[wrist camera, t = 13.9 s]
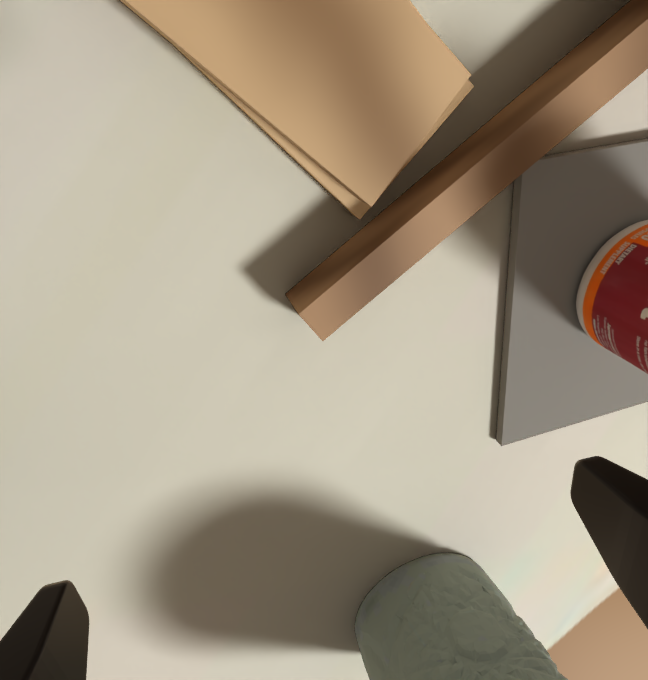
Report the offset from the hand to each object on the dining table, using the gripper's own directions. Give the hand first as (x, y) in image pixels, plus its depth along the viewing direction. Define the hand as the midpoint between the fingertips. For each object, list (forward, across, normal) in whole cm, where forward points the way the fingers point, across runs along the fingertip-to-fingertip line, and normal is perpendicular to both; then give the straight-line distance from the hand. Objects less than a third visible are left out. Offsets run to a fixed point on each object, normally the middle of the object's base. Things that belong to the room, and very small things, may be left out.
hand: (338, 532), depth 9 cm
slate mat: (+14, -17, +5) cm, 23 cm away
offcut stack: (+14, -2, -8) cm, 16 cm away
